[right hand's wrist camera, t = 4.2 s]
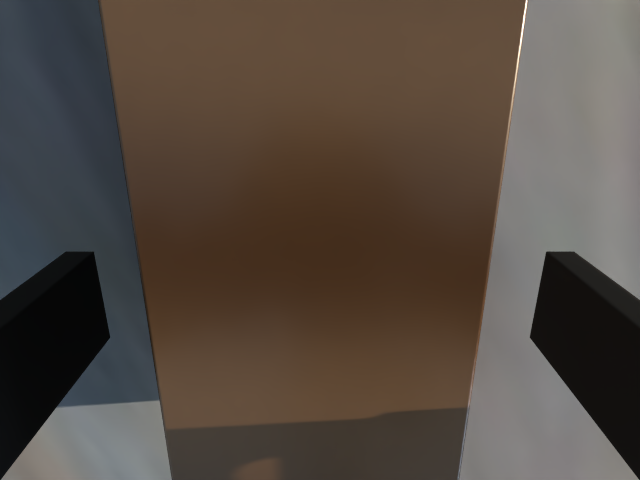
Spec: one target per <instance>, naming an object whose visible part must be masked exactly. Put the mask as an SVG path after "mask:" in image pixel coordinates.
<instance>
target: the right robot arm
mask: <svg viewBox="0 0 640 480" xmlns="http://www.w3.org/2000/svg"><path fill="white" fill-rule="evenodd" d="M109 338H110V334H109V329H108V324H107V318H106V313H105V308H104V303H103V298H102V292H101V287H100V282H99V277H98V271H97V266H96V261H95V256H94V252H65V253H64V254H62V255H61V256H59V257H58V258H57V259H55V260H54V261H53V262H51V263H50V264H49V265H47V266H46V267H45V268H43V269H42V270H40V271H39V272H38V273H36V274H35V275H34V276H32V277H31V278H30V279H28V280H27V281H26V282H24V283H23V284H21V285H20V286H19V287H17V288H16V289H15V290H13V291H12V292H11V293H9V294H8V295H7V296H5V297H4V298H2V299H1V300H0V480H1V479H2V477H3V476H4V475H5V473H6V472H7V471H8V469H9V468H10V467H11V466H12V464H13V463H14V462H15V460H16V459H17V458H18V456H19V455H20V454H21V453H22V451H23V450H24V449H25V447H26V446H27V445H28V443H29V442H30V441H31V440H32V438H33V437H34V436H35V434H36V433H37V432H38V430H39V429H40V428H41V427H42V425H43V424H44V423H45V421H46V420H47V419H48V417H49V416H50V415H51V414H52V412H53V411H54V410H55V408H56V407H57V406H58V404H59V403H60V402H61V401H62V399H63V398H64V397H65V395H66V394H67V393H68V391H69V390H70V389H71V388H72V386H73V385H74V384H75V382H76V381H77V380H78V379H79V377H80V376H81V375H82V373H83V372H84V371H85V369H86V368H87V367H88V366H89V364H90V363H91V362H92V360H93V359H94V358H95V356H96V355H97V354H98V353H99V351H100V350H101V349H102V347H103V346H104V345H105V343H106V342H107V341H108V340H109ZM530 338H531V340H532V341H533V342H534V343H535V345H536V346H537V347H538V349H539V350H540V351H541V353H542V354H543V355H544V356H545V358H546V359H547V360H548V362H549V363H550V364H551V366H552V367H553V368H554V369H555V371H556V372H557V373H558V375H559V376H560V377H561V379H562V380H563V381H564V382H565V384H566V385H567V386H568V388H569V389H570V390H571V392H572V393H573V394H574V395H575V397H576V398H577V399H578V401H579V402H580V403H581V405H582V406H583V407H584V408H585V410H586V411H587V412H588V414H589V415H590V416H591V418H592V419H593V420H594V421H595V423H596V424H597V425H598V427H599V428H600V429H601V431H602V432H603V433H604V434H605V436H606V437H607V438H608V440H609V441H610V442H611V443H612V445H613V446H614V447H615V449H616V450H617V451H618V453H619V454H620V455H621V456H622V458H623V459H624V460H625V462H626V463H627V464H628V466H629V467H630V468H631V469H632V471H633V472H634V473H635V475H636V476H637V477H638V479H639V480H640V300H639V299H638V298H636V297H635V296H633V295H632V294H631V293H629V292H628V291H627V290H625V289H624V288H623V287H621V286H620V285H619V284H617V283H616V282H614V281H613V280H612V279H610V278H609V277H608V276H606V275H605V274H604V273H602V272H601V271H600V270H598V269H597V268H595V267H594V266H593V265H591V264H590V263H589V262H587V261H586V260H585V259H583V258H582V257H580V256H579V255H578V254H576V253H575V252H546V256H545V261H544V266H543V271H542V277H541V282H540V287H539V292H538V297H537V303H536V308H535V313H534V318H533V323H532V329H531V334H530Z"/></svg>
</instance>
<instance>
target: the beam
mask: <svg viewBox="0 0 640 480" xmlns="http://www.w3.org/2000/svg"><path fill="white" fill-rule="evenodd" d="M98 2H99V9H100V15H101V22H102V28H103V35H104V41H105V48H106V54H107V61H108V67H109V74H110V80H111V87H112V93H113V100H114V106H115V113H116V119H117V126H118V132H119V139H120V145H121V152H122V158H123V165H124V171H125V178H126V184H127V191H128V197H129V204H130V210H131V217H132V223H133V230H134V236H135V243H136V249H137V256H138V262H139V269H140V275H141V282H142V288H143V295H144V301H145V308H146V314H147V321H148V327H149V334H150V340H151V347H152V353H153V360H154V366H155V373H156V379H157V386H158V392H159V399H160V405H161V412H162V418H163V425H164V431H165V438H166V444H167V451H168V457H169V464H170V470H171V477H172V480H459V476H460V469H461V462H462V455H463V448H464V441H465V435H466V428H467V421H468V414H469V407H470V400H471V393H472V386H473V379H474V372H475V365H476V358H477V351H478V344H479V338H480V331H481V324H482V317H483V310H484V303H485V296H486V289H487V282H488V275H489V268H490V261H491V254H492V247H493V241H494V234H495V227H496V220H497V213H498V206H499V199H500V192H501V185H502V178H503V171H504V164H505V157H506V150H507V143H508V137H509V130H510V123H511V116H512V109H513V102H514V95H515V88H516V81H517V74H518V67H519V60H520V53H521V46H522V40H523V33H524V26H525V19H526V12H527V5H528V0H98Z"/></svg>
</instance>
